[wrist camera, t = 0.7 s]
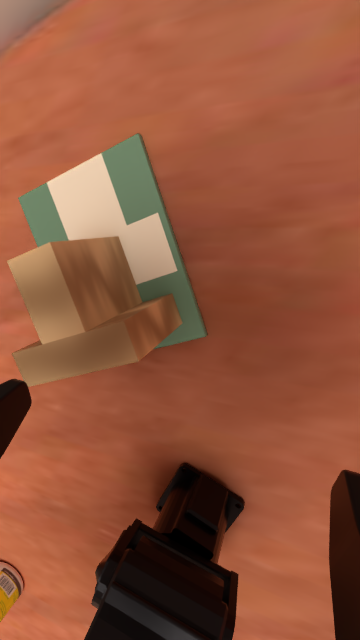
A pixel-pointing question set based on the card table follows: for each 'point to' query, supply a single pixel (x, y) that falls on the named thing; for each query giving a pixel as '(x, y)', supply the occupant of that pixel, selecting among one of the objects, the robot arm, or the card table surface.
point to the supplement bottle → (9, 588)
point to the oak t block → (86, 310)
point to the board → (120, 224)
